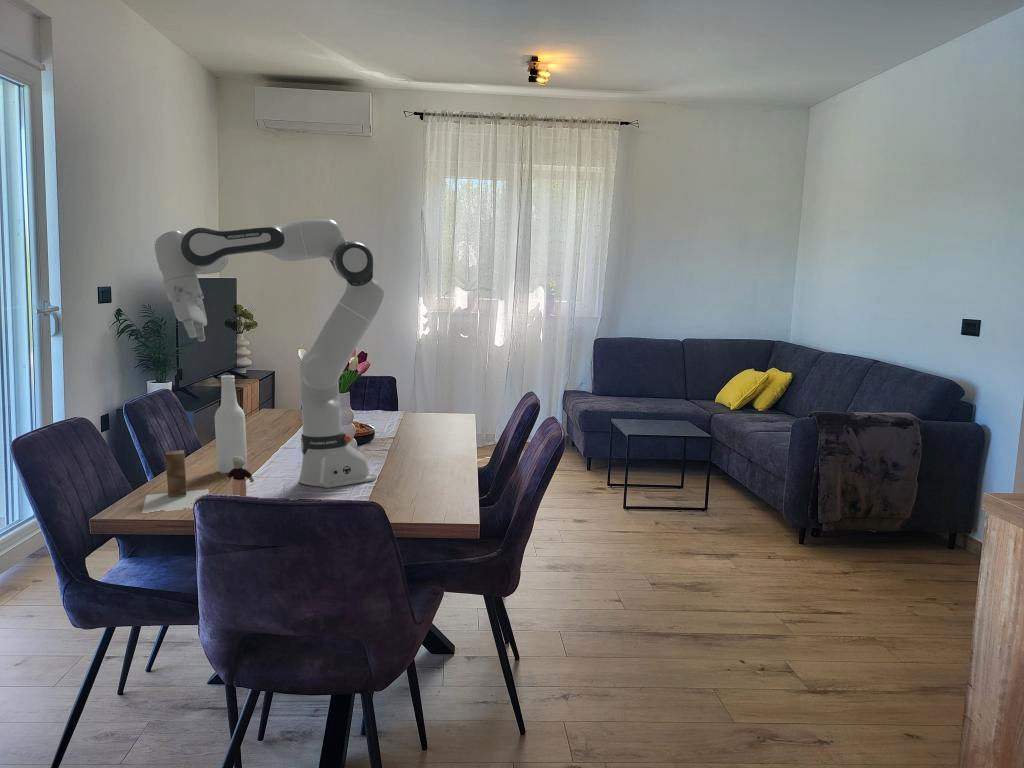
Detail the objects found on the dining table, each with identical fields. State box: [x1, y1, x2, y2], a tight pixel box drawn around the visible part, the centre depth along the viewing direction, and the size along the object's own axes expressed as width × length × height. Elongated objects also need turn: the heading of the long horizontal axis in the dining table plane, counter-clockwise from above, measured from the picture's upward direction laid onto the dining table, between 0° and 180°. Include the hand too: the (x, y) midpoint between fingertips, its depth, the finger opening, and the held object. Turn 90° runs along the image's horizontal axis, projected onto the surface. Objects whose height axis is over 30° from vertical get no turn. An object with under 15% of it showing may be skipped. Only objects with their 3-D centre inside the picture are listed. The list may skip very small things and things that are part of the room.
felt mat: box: [141, 488, 210, 514], centre depth 207 cm, size 16×18×1 cm
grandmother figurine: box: [225, 456, 255, 497], centre depth 208 cm, size 8×4×13 cm, turn 95°
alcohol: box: [214, 374, 248, 475], centre depth 238 cm, size 9×9×30 cm
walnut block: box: [165, 449, 187, 498], centre depth 212 cm, size 4×4×12 cm
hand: (197, 339), depth 212 cm, fingers open, 8 cm apart
